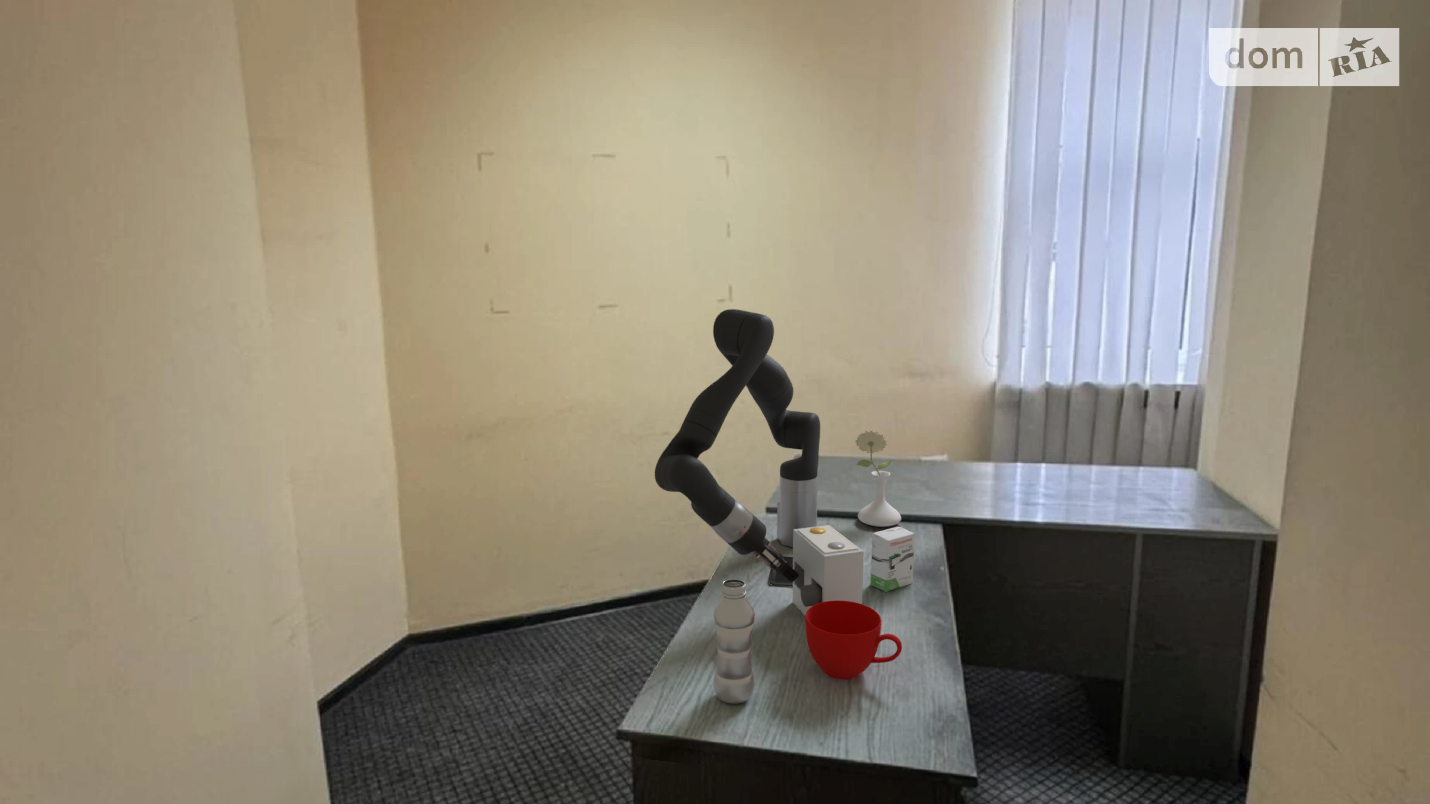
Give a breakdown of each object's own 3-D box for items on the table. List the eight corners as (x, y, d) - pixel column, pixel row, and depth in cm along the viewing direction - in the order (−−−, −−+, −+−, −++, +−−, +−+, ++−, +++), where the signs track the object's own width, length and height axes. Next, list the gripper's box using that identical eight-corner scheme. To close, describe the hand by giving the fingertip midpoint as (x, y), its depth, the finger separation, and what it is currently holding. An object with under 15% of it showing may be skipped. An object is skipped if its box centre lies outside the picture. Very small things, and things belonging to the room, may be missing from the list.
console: (823, 635, 147) (824, 553, 143) (792, 602, 161) (793, 527, 157) (861, 629, 149) (863, 548, 146) (827, 597, 163) (829, 522, 160)
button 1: (800, 590, 155) (801, 571, 154) (793, 582, 158) (793, 564, 158) (819, 587, 156) (819, 569, 155) (811, 579, 160) (811, 561, 159)
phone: (768, 582, 169) (774, 555, 183) (768, 586, 169) (774, 560, 184) (804, 584, 168) (808, 557, 182) (804, 588, 168) (808, 561, 182)
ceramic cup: (886, 706, 124) (888, 649, 122) (791, 676, 133) (792, 622, 131) (912, 669, 135) (914, 616, 133) (822, 644, 143) (823, 594, 142)
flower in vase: (907, 520, 208) (910, 430, 204) (892, 533, 199) (895, 439, 194) (861, 512, 215) (863, 424, 210) (845, 524, 206) (847, 433, 201)
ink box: (885, 592, 165) (887, 540, 162) (869, 584, 169) (870, 533, 167) (914, 583, 169) (916, 531, 167) (897, 575, 174) (898, 525, 171)
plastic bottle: (712, 688, 130) (710, 576, 126) (752, 685, 130) (752, 574, 126) (715, 710, 123) (714, 593, 119) (757, 707, 124) (757, 591, 120)
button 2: (808, 610, 146) (809, 590, 145) (800, 601, 150) (800, 582, 149) (828, 607, 147) (828, 587, 146) (819, 598, 151) (819, 579, 150)
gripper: (762, 522, 144) (820, 576, 150) (739, 501, 157) (794, 551, 163) (735, 552, 144) (794, 605, 150) (714, 528, 156) (770, 578, 162)
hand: (794, 577), depth 156 cm, fingers closed
